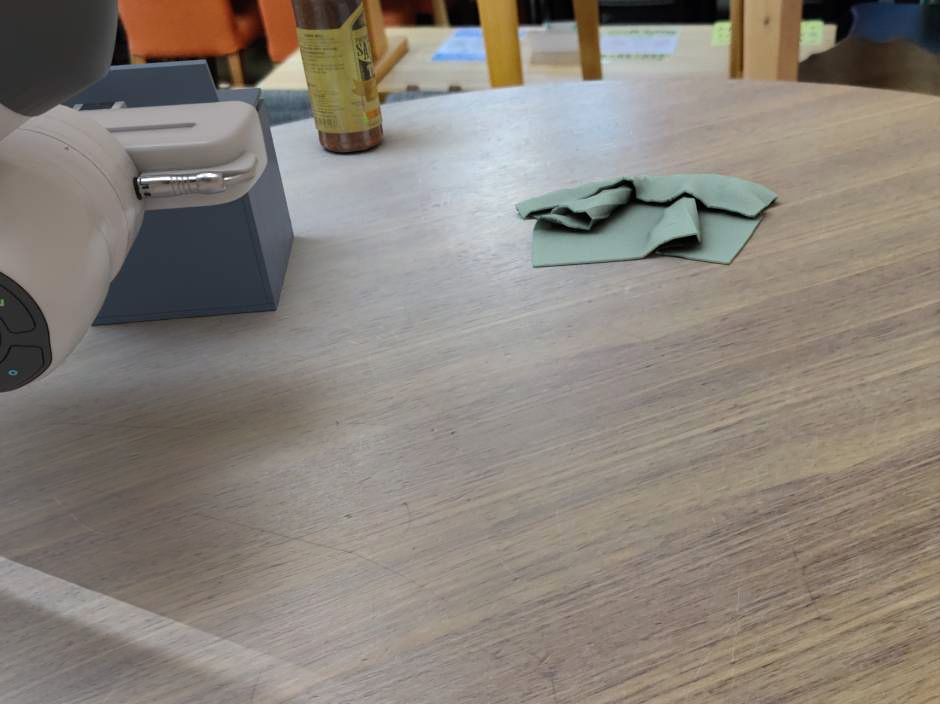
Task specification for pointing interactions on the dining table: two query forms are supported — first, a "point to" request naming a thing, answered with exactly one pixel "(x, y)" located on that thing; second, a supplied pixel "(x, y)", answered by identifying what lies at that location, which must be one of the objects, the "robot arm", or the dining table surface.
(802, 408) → the dining table surface
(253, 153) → the robot arm
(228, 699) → the dining table surface
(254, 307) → the carton
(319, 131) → the sauce bottle
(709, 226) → the cloth
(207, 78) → the flap
